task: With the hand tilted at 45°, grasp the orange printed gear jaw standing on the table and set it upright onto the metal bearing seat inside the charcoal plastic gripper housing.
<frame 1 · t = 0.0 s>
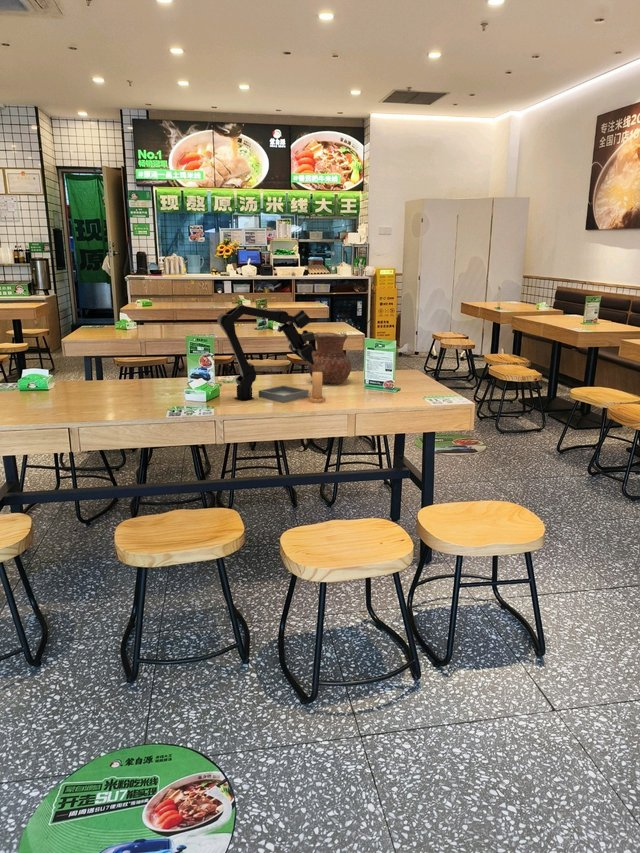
hand: (309, 362, 288), 15 cm above the table, fingers open, 9 cm apart
jug: (329, 382, 319), on the table
housing: (283, 396, 286), on the table
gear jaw: (317, 401, 278), on the table
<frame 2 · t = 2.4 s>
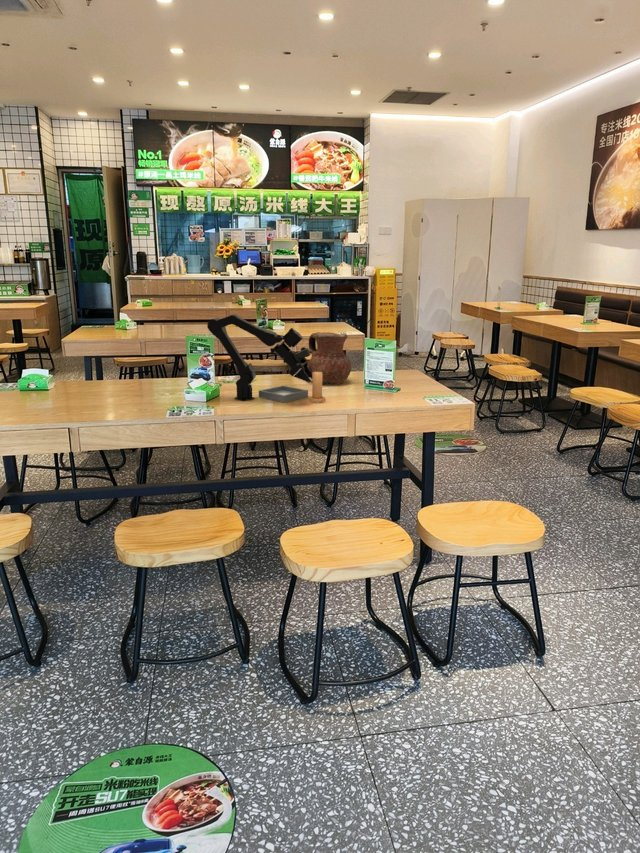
hand: (311, 379, 276), 10 cm above the table, fingers open, 9 cm apart
nothing on the table moved.
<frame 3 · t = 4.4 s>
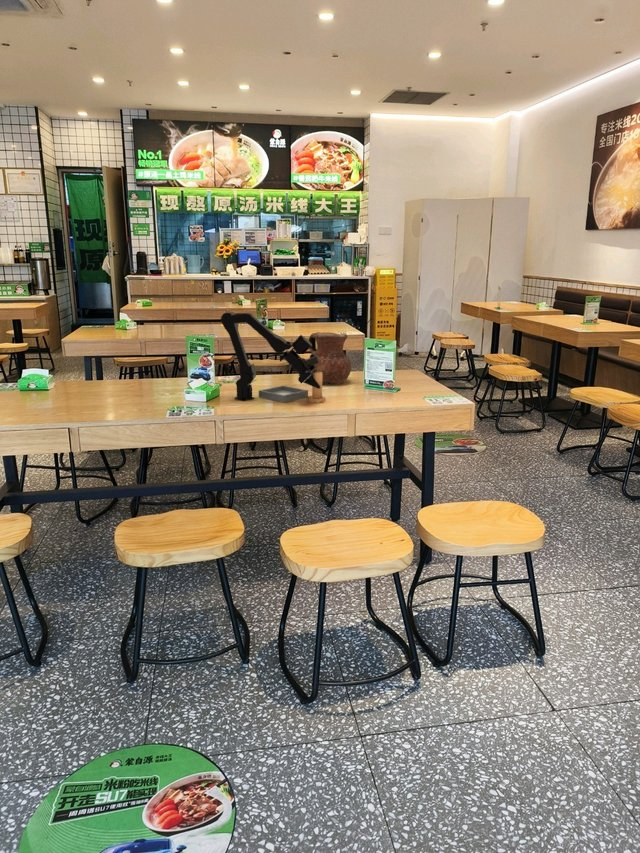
hand: (320, 386, 276), 7 cm above the table, fingers closed on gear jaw, 4 cm apart
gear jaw: (317, 401, 278), on the table, touching gripper
everything else where it was.
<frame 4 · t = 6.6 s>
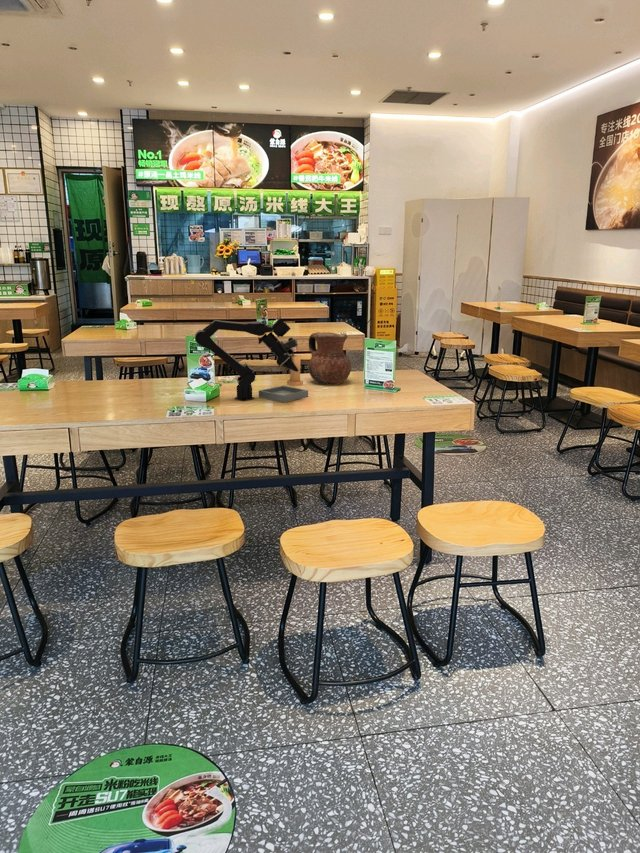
hand: (298, 370, 279), 13 cm above the table, fingers closed on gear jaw, 4 cm apart
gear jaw: (295, 384, 281), point 7 cm above the table, touching gripper
everything else where it was.
when the fingers open (9 cm above the table, at t = 8.9 s): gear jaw drops 1 cm, resting on housing.
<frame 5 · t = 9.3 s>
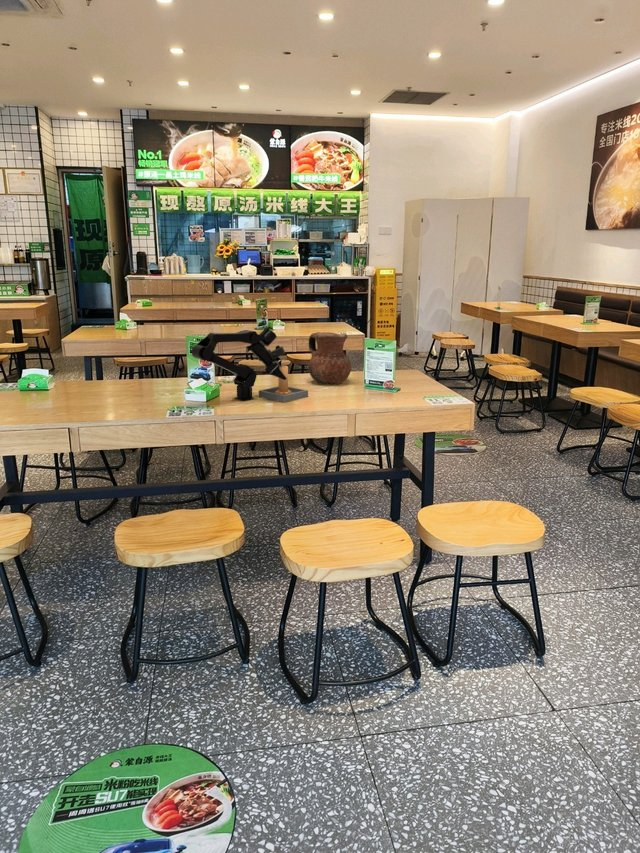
hand: (286, 377, 284), 9 cm above the table, fingers open, 8 cm apart
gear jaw: (283, 394, 286), point 1 cm above the table, touching housing
everything else where it was.
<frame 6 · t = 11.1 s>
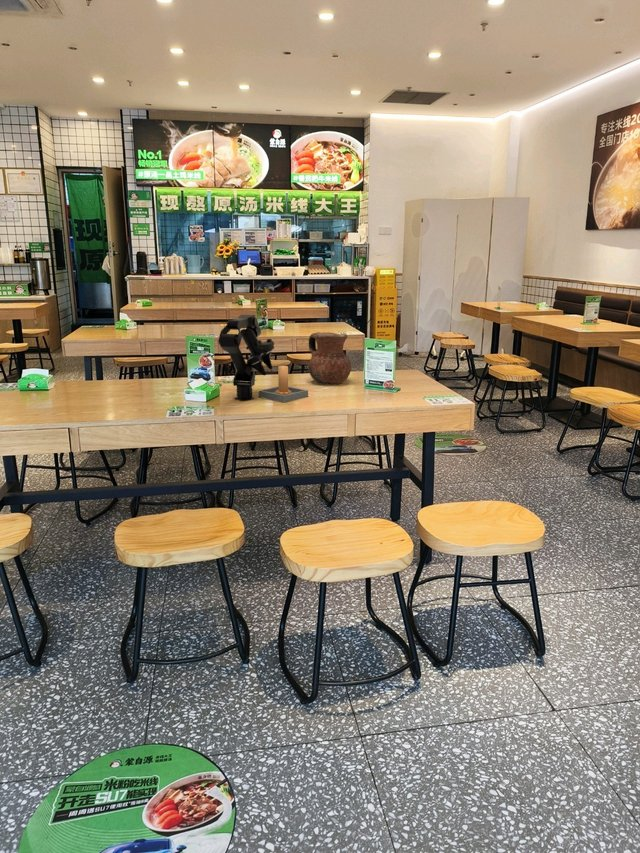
hand: (268, 371, 286), 11 cm above the table, fingers open, 9 cm apart
nothing on the table moved.
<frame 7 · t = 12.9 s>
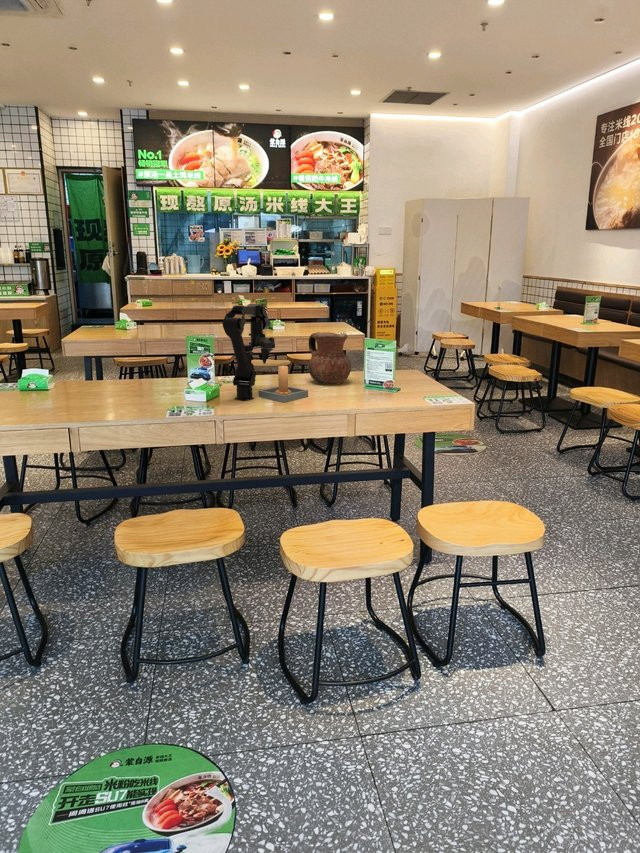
hand: (257, 364, 292), 13 cm above the table, fingers open, 9 cm apart
nothing on the table moved.
at the end: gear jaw inside the target area on the housing (0.1 cm from its centre), point 1.1 cm above the housing's base; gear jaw tilted 0°; the gripper is holding nothing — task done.
